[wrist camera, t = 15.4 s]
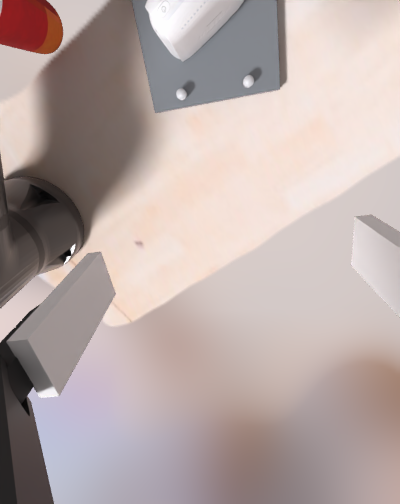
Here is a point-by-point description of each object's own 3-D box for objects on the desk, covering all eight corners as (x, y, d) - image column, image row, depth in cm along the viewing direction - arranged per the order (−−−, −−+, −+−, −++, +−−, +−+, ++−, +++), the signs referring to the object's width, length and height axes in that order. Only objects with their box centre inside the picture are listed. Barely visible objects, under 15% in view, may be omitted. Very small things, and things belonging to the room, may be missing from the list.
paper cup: (-4, -2, 33) (-137, -75, 21) (53, -25, 32) (-50, -117, 19) (29, 73, 36) (-68, 50, 24) (82, 54, 35) (10, 20, 23)
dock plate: (157, 113, 38) (153, 112, 35) (121, -58, 31) (112, -76, 28) (277, 90, 36) (282, 87, 33) (269, -97, 29) (275, -119, 26)
